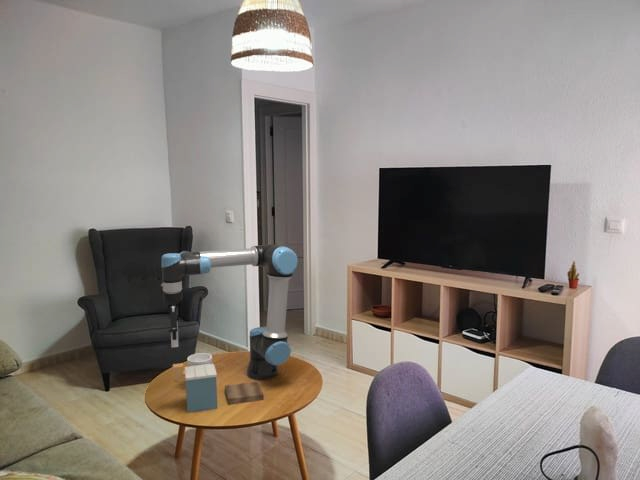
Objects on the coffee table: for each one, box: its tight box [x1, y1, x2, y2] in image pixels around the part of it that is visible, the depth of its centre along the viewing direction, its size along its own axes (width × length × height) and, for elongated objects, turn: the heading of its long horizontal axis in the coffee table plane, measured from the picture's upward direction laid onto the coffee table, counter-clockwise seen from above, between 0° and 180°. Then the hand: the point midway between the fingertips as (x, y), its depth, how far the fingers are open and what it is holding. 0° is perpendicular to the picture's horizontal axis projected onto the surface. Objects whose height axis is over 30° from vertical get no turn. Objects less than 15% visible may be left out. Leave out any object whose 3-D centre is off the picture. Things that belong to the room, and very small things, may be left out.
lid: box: [172, 362, 218, 382], centre depth 208 cm, size 17×12×6 cm
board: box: [224, 381, 265, 406], centre depth 219 cm, size 15×14×2 cm
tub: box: [184, 376, 218, 414], centre depth 210 cm, size 12×12×14 cm
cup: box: [186, 352, 213, 367], centre depth 227 cm, size 11×11×14 cm
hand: (174, 341), depth 205 cm, fingers open, 13 cm apart
